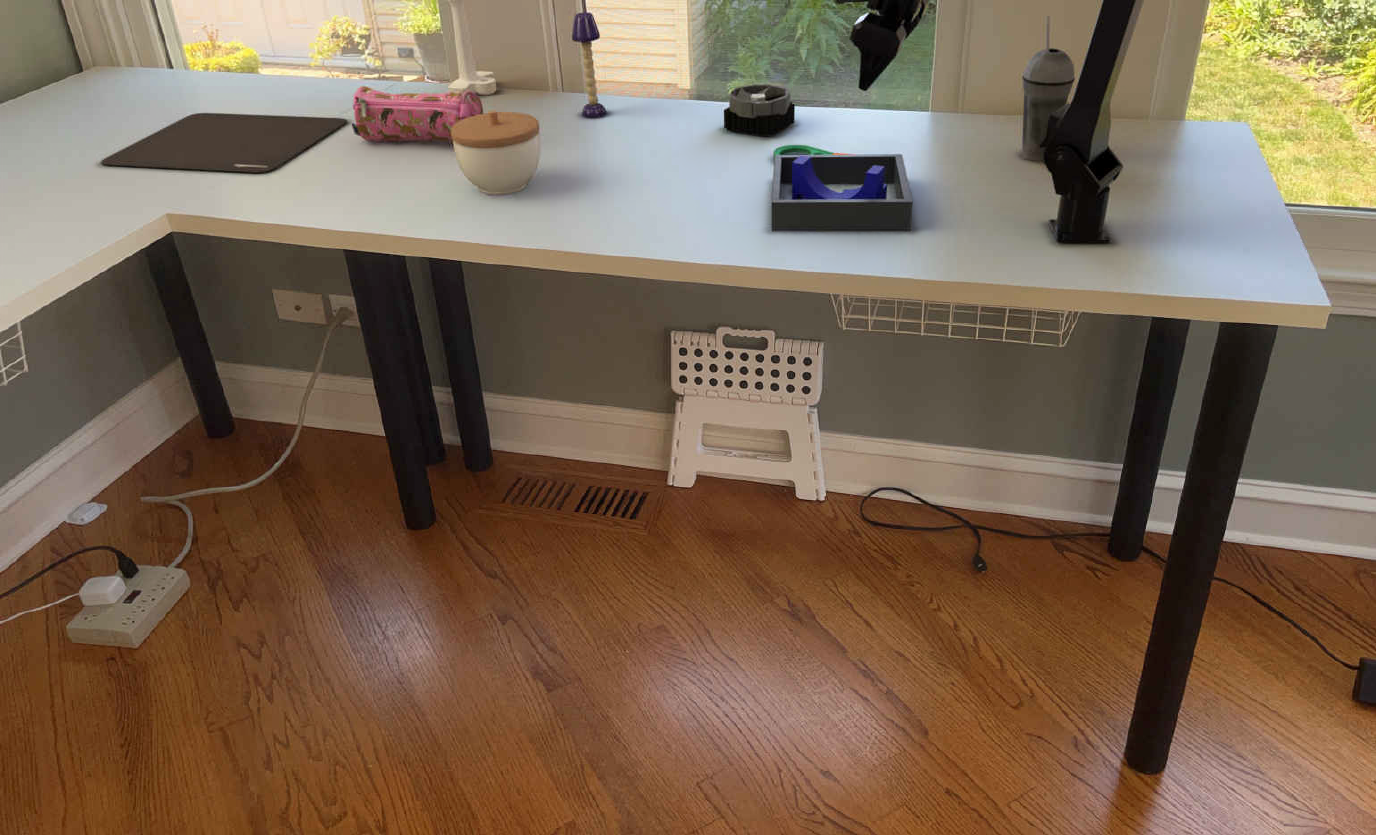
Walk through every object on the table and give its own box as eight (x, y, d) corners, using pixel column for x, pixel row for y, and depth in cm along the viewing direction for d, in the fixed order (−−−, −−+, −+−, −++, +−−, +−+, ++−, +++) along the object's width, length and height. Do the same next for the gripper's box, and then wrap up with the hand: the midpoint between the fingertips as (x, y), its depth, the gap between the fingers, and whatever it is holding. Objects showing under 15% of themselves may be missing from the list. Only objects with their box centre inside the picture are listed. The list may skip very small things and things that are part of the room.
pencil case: (351, 148, 180) (339, 94, 175) (379, 130, 188) (368, 77, 183) (471, 155, 175) (462, 99, 170) (494, 136, 182) (487, 82, 177)
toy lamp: (575, 117, 189) (565, 16, 180) (585, 109, 193) (576, 10, 184) (601, 118, 188) (592, 17, 179) (610, 110, 192) (603, 11, 183)
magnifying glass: (767, 163, 166) (767, 152, 165) (781, 150, 171) (781, 140, 170) (865, 174, 161) (866, 163, 160) (876, 160, 165) (877, 149, 164)
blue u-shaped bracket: (885, 205, 151) (888, 163, 147) (874, 217, 147) (877, 174, 144) (804, 193, 155) (805, 152, 152) (791, 204, 152) (792, 162, 149)
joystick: (474, 82, 210) (458, -29, 199) (509, 85, 208) (495, -28, 197) (444, 99, 201) (425, -16, 190) (480, 102, 199) (463, -15, 188)
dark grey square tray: (910, 231, 143) (912, 201, 141) (771, 231, 145) (771, 202, 143) (900, 181, 158) (902, 154, 156) (774, 181, 160) (774, 155, 158)
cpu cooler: (747, 80, 184) (801, 87, 179) (747, 114, 187) (801, 121, 182) (716, 97, 177) (772, 104, 172) (717, 132, 180) (772, 140, 175)
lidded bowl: (464, 206, 156) (452, 130, 150) (455, 177, 167) (444, 104, 161) (552, 194, 159) (543, 119, 153) (538, 166, 169) (530, 94, 163)
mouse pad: (94, 164, 178) (94, 163, 178) (194, 113, 200) (194, 112, 199) (268, 173, 171) (267, 172, 171) (351, 119, 193) (351, 118, 193)
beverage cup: (1065, 165, 161) (1086, 23, 150) (1013, 163, 162) (1031, 23, 151) (1061, 148, 167) (1081, 11, 156) (1011, 147, 168) (1028, 10, 157)
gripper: (869, -79, 145) (834, 34, 156) (830, -39, 132) (795, 81, 142) (948, -50, 143) (908, 61, 154) (917, -8, 130) (875, 111, 140)
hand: (871, 77), depth 148 cm, fingers open, 9 cm apart
